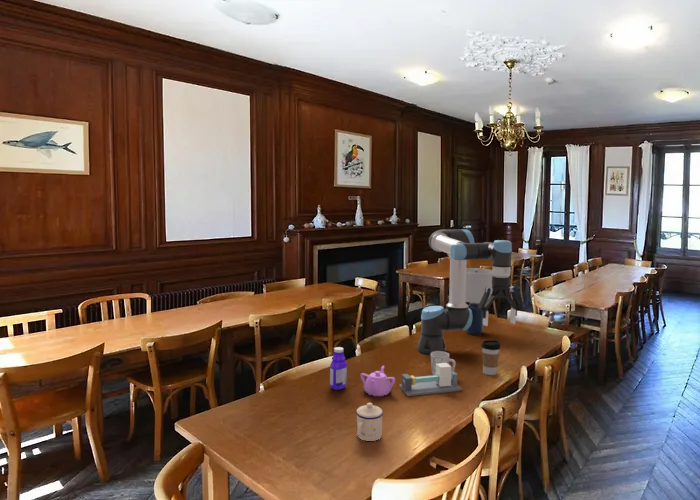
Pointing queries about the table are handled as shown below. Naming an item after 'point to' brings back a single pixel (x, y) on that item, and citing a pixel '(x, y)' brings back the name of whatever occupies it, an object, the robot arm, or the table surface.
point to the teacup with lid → (369, 422)
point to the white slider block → (443, 374)
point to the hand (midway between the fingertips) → (499, 324)
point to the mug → (440, 360)
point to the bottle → (338, 369)
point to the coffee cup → (490, 356)
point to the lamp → (477, 295)
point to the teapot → (377, 383)
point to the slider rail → (427, 385)
